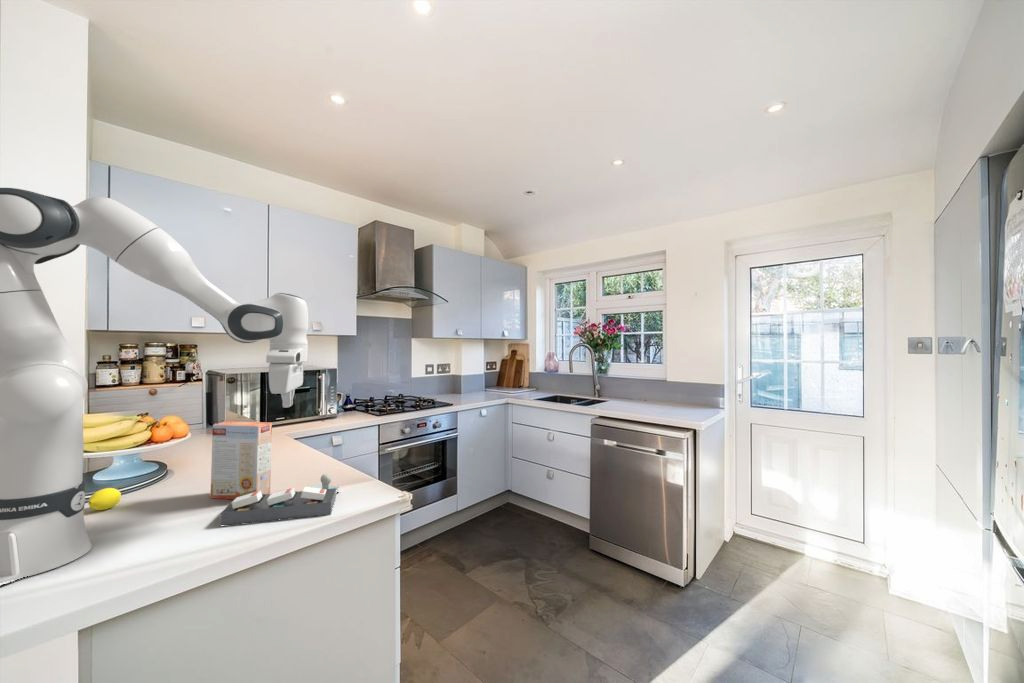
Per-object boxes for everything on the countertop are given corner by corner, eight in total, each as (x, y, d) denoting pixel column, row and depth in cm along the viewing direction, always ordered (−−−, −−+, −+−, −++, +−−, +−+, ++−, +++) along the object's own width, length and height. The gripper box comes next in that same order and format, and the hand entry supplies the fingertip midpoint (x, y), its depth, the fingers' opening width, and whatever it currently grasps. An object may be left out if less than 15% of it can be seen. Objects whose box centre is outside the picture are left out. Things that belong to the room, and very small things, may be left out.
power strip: (220, 526, 91) (221, 510, 91) (236, 509, 101) (236, 494, 101) (330, 514, 99) (331, 499, 99) (335, 499, 108) (336, 486, 108)
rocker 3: (300, 497, 98) (302, 490, 98) (303, 492, 101) (305, 485, 101) (323, 500, 99) (325, 493, 99) (325, 495, 103) (326, 488, 103)
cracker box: (271, 493, 112) (273, 421, 112) (255, 501, 106) (257, 425, 106) (227, 490, 113) (229, 419, 114) (209, 498, 107) (211, 423, 108)
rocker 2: (268, 505, 95) (266, 499, 95) (272, 500, 99) (270, 493, 99) (292, 498, 97) (290, 491, 97) (295, 493, 100) (293, 486, 100)
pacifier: (321, 490, 116) (309, 497, 110) (322, 469, 116) (310, 474, 110) (344, 491, 115) (333, 498, 109) (345, 470, 115) (334, 476, 109)
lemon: (107, 505, 102) (111, 484, 103) (126, 506, 102) (130, 485, 103) (77, 513, 96) (81, 491, 96) (97, 514, 95) (101, 491, 96)
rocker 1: (233, 509, 93) (231, 502, 93) (238, 503, 96) (236, 497, 96) (258, 501, 95) (256, 494, 95) (262, 496, 98) (260, 489, 98)
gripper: (285, 353, 111) (284, 401, 111) (264, 355, 92) (262, 413, 91) (309, 354, 113) (308, 400, 113) (293, 356, 94) (292, 412, 93)
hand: (287, 406), depth 102 cm, fingers closed
